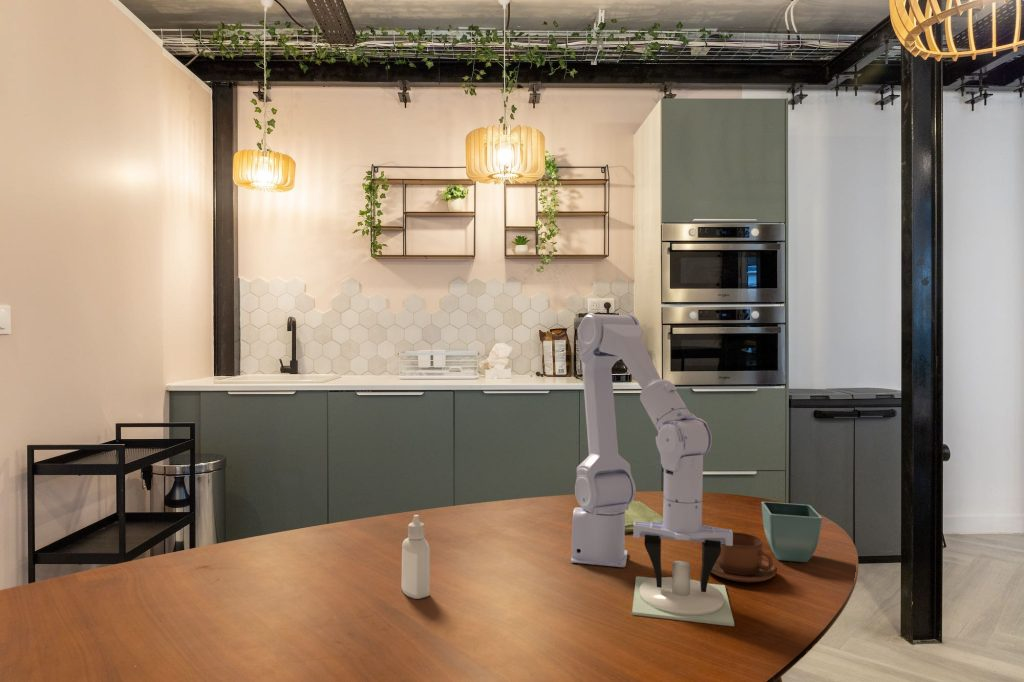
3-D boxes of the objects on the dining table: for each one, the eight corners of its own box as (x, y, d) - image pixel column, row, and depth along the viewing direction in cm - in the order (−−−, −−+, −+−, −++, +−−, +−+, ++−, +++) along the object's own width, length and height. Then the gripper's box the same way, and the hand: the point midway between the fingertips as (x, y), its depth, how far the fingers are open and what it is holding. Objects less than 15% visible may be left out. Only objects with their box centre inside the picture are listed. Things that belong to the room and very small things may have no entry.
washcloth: (613, 537, 128) (613, 521, 128) (586, 512, 145) (586, 498, 145) (673, 534, 130) (673, 518, 130) (640, 510, 148) (640, 496, 148)
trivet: (632, 614, 91) (632, 611, 91) (636, 578, 105) (636, 576, 105) (734, 626, 88) (734, 623, 88) (724, 587, 102) (724, 585, 102)
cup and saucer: (783, 572, 110) (784, 536, 109) (767, 595, 100) (768, 556, 100) (713, 557, 116) (714, 524, 116) (692, 577, 106) (693, 541, 106)
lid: (638, 610, 92) (638, 574, 92) (640, 578, 104) (641, 547, 104) (727, 619, 89) (728, 583, 89) (719, 586, 101) (720, 554, 101)
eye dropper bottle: (400, 600, 95) (401, 521, 95) (401, 586, 101) (402, 510, 100) (429, 599, 96) (430, 520, 95) (429, 585, 101) (430, 510, 101)
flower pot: (822, 568, 111) (823, 517, 111) (768, 564, 113) (769, 513, 113) (809, 551, 120) (810, 504, 120) (759, 547, 122) (760, 501, 121)
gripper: (633, 501, 94) (631, 592, 94) (735, 509, 91) (734, 603, 91) (635, 490, 101) (633, 575, 101) (730, 497, 98) (729, 584, 98)
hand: (681, 587), depth 97 cm, fingers open, 6 cm apart
